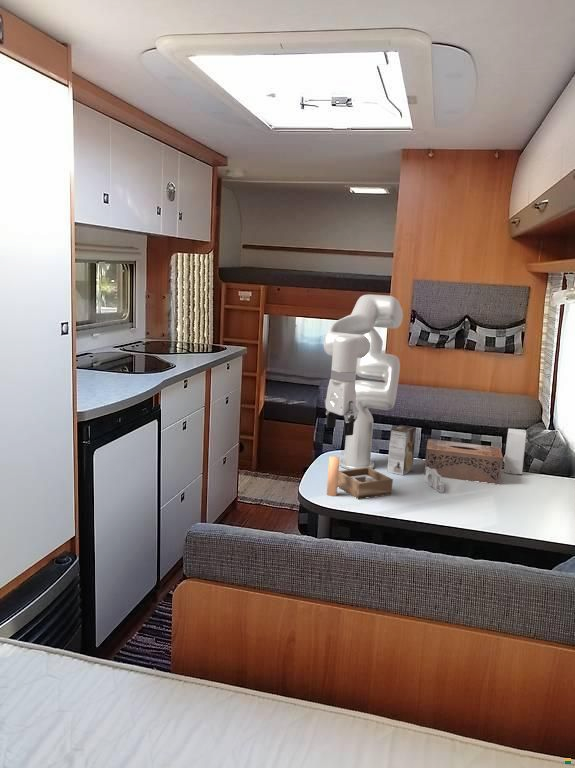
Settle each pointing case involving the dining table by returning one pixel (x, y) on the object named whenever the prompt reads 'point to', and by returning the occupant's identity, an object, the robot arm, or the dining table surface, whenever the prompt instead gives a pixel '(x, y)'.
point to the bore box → (364, 483)
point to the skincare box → (515, 451)
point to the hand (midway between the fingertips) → (339, 431)
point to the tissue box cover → (464, 461)
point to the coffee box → (401, 449)
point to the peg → (333, 475)
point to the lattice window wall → (434, 479)
